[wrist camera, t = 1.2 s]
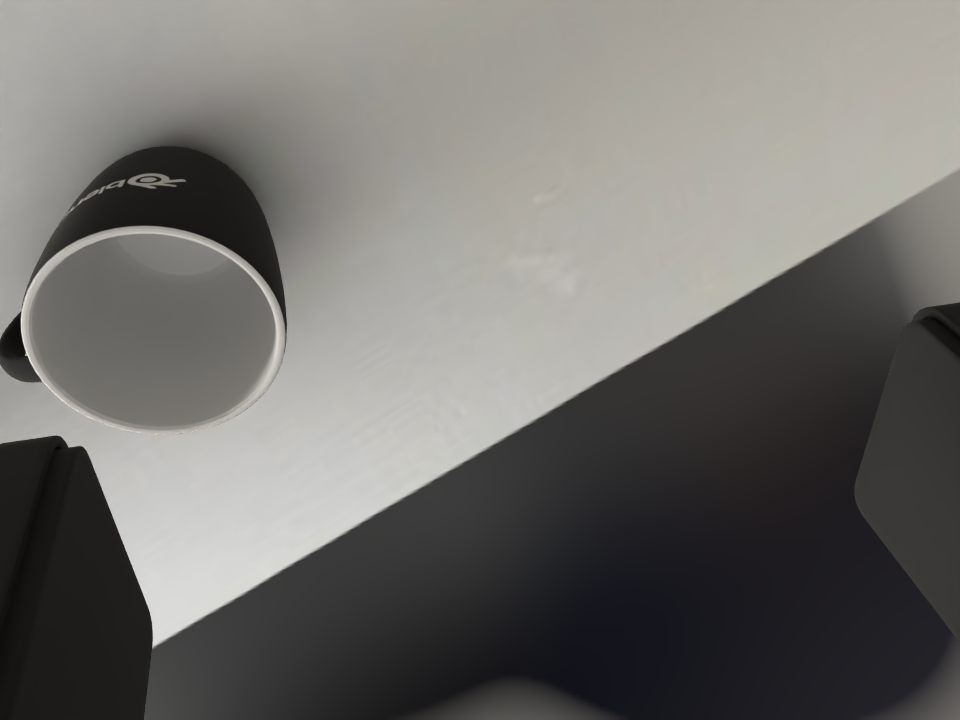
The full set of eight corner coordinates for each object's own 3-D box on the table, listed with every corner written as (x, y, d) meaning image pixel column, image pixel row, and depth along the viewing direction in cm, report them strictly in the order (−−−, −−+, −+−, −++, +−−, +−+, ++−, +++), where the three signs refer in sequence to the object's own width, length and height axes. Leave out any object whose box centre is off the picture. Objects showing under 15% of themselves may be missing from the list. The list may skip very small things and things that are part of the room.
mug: (212, 80, 36) (198, 180, 28) (317, 250, 42) (330, 375, 34) (-40, 204, 37) (-123, 336, 29) (95, 355, 43) (56, 502, 34)
